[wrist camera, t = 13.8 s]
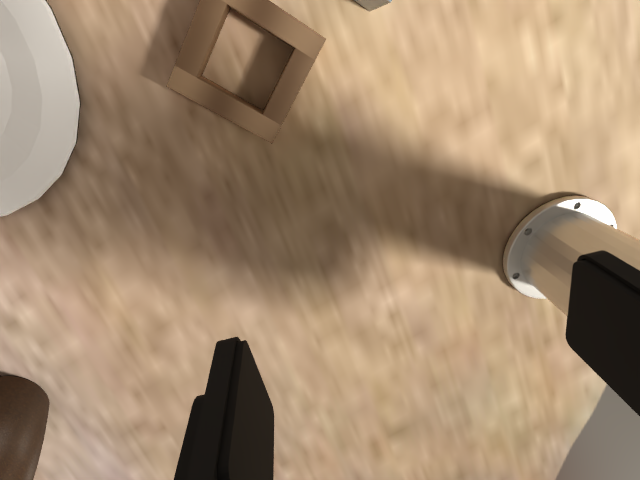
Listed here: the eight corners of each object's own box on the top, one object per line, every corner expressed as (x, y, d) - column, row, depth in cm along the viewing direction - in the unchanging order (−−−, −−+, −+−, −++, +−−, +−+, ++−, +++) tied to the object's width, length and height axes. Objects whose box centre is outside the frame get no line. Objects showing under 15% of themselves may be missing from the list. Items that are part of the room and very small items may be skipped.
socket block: (322, 40, 31) (326, 38, 29) (271, 137, 34) (272, 143, 32) (218, -30, 28) (214, -37, 26) (173, 84, 31) (166, 86, 29)
